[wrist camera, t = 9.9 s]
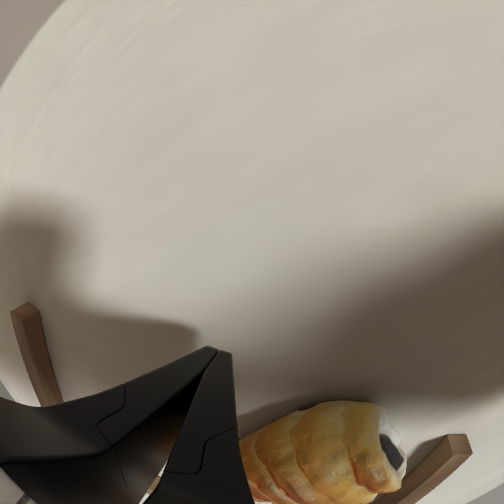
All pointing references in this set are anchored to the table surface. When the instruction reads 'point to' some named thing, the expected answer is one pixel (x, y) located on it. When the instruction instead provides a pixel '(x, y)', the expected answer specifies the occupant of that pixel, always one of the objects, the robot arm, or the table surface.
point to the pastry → (325, 455)
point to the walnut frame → (47, 391)
